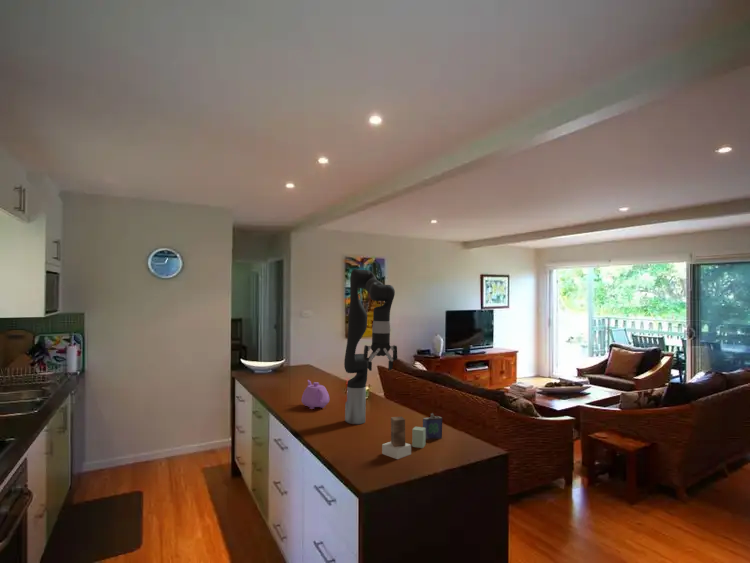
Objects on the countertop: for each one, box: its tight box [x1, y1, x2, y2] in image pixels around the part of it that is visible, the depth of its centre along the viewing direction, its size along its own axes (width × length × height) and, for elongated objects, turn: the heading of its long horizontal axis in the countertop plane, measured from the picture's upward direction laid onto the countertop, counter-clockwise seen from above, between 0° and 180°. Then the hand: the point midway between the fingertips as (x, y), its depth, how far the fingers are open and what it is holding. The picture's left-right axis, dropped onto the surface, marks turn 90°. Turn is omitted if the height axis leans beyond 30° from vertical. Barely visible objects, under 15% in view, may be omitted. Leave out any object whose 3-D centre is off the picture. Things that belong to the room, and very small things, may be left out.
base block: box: [381, 441, 412, 460], centre depth 164 cm, size 8×8×4 cm
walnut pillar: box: [390, 416, 406, 447], centre depth 164 cm, size 4×4×10 cm
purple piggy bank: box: [301, 379, 330, 410], centre depth 237 cm, size 22×16×14 cm
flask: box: [422, 412, 443, 441], centre depth 184 cm, size 9×3×11 cm, turn 109°
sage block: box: [411, 426, 427, 449], centre depth 174 cm, size 4×4×7 cm
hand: (380, 370), depth 177 cm, fingers open, 8 cm apart
